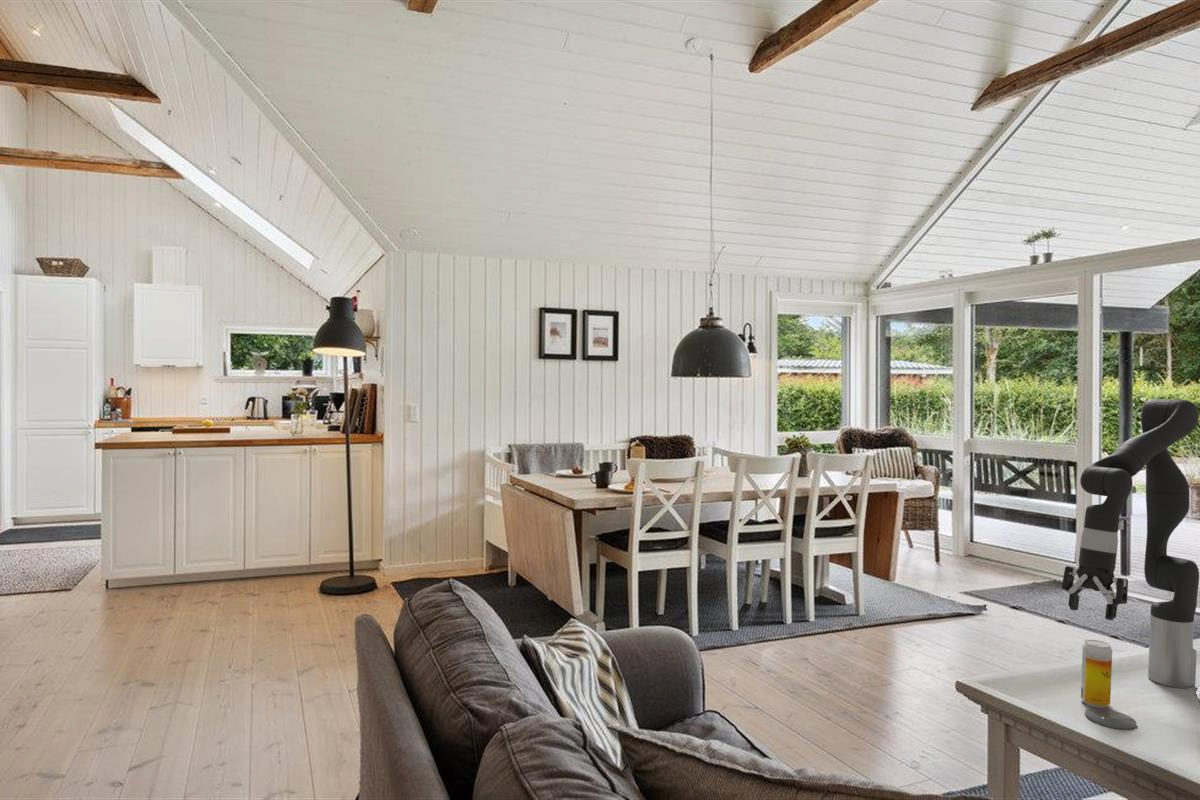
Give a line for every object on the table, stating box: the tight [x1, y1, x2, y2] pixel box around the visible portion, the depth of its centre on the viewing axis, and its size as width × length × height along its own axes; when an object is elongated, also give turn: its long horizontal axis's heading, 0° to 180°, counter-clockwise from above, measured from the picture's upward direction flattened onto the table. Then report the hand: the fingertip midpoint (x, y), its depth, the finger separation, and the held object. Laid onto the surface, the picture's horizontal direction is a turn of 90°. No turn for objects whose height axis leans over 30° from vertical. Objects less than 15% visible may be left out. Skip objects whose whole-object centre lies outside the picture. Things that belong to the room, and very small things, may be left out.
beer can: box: [1080, 639, 1113, 709], centre depth 187 cm, size 6×6×15 cm
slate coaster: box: [1084, 707, 1137, 731], centre depth 178 cm, size 10×10×1 cm
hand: (1091, 614), depth 185 cm, fingers open, 8 cm apart
